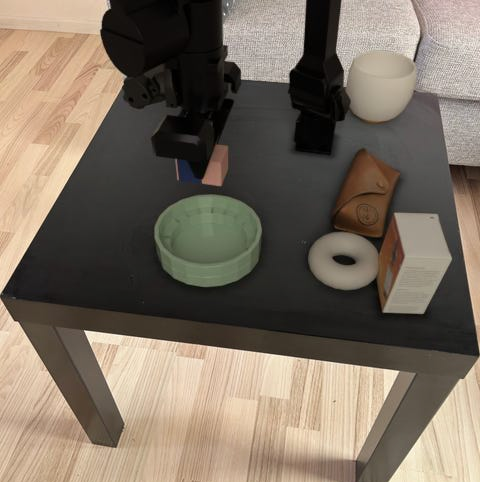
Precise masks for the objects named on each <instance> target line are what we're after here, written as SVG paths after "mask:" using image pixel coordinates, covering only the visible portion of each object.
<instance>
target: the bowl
mask: <svg viewBox="0 0 480 482" xmlns="http://www.w3.org/2000/svg"><path fill="white" fill-rule="evenodd" d="M262 227H263V226H262V223H261V218H260V217H259V216H258V214H257V213H256V212H255V211H254V209H253V208H252V207H250V206H249V205H247V204H246V203H245V202H243V201H242V200H239V199H236V198H234V197H230V196H228V195H221V194H213V193H212V194H211V193H210V194H196V195H193V196H190V197H186V198H183V199H180V200H178V201H177V202H175V203H173V204H171V205H169V206H167V208H166V209H164V211H163V212H162V213H160V215H159V216H158V218H157V219H156V222H155V224H154V242H155V248H156V254H157V258H158V260H159V261H158V262H159V263H160V265H161V267H162V269H163V270H164V271H165V272H166V273H167V274H168V275H170V276H171V277H172V278H173V279H174V280H177V281H179V282H182V283H184V284H186V285H188V286H189V285H190V286H196V287H201V288H202V287H203V288H210V287H220V286H221V287H222V286H226V285H228V284H231V283H235V282H237V281H239V280H241V279H242V278H244V277H246V275H248V274H250V273H251V272H252V271H253V269H254V268H255V267H256V265H257V264H258V263H259V260H260V256H261V252H262V242H263V241H262V240H263V239H262V237H263V228H262Z"/></svg>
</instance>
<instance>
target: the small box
mask: <svg viewBox="0 0 480 482" xmlns="http://www.w3.org/2000/svg"><path fill="white" fill-rule="evenodd" d="M378 254H379V256H378V259H379V271H378V274H377V276H376V278H375V279H376V280H375V281H376V285H377V290H378V297H379V302H380V307H381V312H382V313H383V314H385V313H386V314H414V315H415V314H417V315H423V314H425V312H426V310H427V308H428V306H429V304H430V302H431V300H432V298H433V297H434V295H435V293H436V291H437V289H438V287H439V286H440V284H441V281H442V279H443V278H444V276H445V273H446V272H447V270H448V268H449V266H450V264H451V262H452V261H453V257H452V255H451V252H450V249H449V247H448V244H447V241H446V238H445V235H444V231H443V228H442V225H441V222H440V218H439V214H438V213H422V212H421V213H420V212H418V213H417V212H393V213H392V217H391V220H390V222H389V225H388V229H387V231H386V233H385V237H384V239H383V242H382V245H381V248H380V251H379V252H378Z"/></svg>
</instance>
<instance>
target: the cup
mask: <svg viewBox="0 0 480 482" xmlns="http://www.w3.org/2000/svg"><path fill="white" fill-rule="evenodd" d="M416 85H417V64H416V62H414V60H413V59H412V58H410V57H408V56H407V55H405V54H403V53H399V52H395V51H393V50H392V51H391V50H379V49H378V50H368V51H365V52H361V53H359V54H358V55H356V57H354V59H353V60H352V62H351V64H350V67H349V69H348V73H347V79H346V85H345V91H346V93H347V94H348V96H349V98H350V100H351V103H350V106H349V109H350V110H351V112H352V114H354V115H355V116H357V118H359V119H361V120H362V121H364V122H367V123H371V124H380V123H384V122H388V121H390V120H393V119H395V118H396V117H398V116H399V115H400V114H401V113H403V111H404V110H405V109H406V108H407V106H408V104H409V103H410V101H411V99H412V98H413V95H414V91H415V88H416Z"/></svg>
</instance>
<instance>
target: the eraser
mask: <svg viewBox="0 0 480 482" xmlns="http://www.w3.org/2000/svg"><path fill="white" fill-rule="evenodd" d="M174 160H175V168H176V179H177V181H178V182H185V183H192V184H198V185H209V186H216V187H222V186H223V183H224V180H225V178H226V176H227V173H228V170H229V146H228V145H224V144H218V145H217V144H216V146H215V149H214V152H213V154H212V157H211V160H210V162H209V165H208V168H207V170H206V173H205V176H204V178H203V179H196V178H195V177H194V175H193V172H192V170H191V168H190V166H189V164H188V162H187V160H179V159H174Z"/></svg>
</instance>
